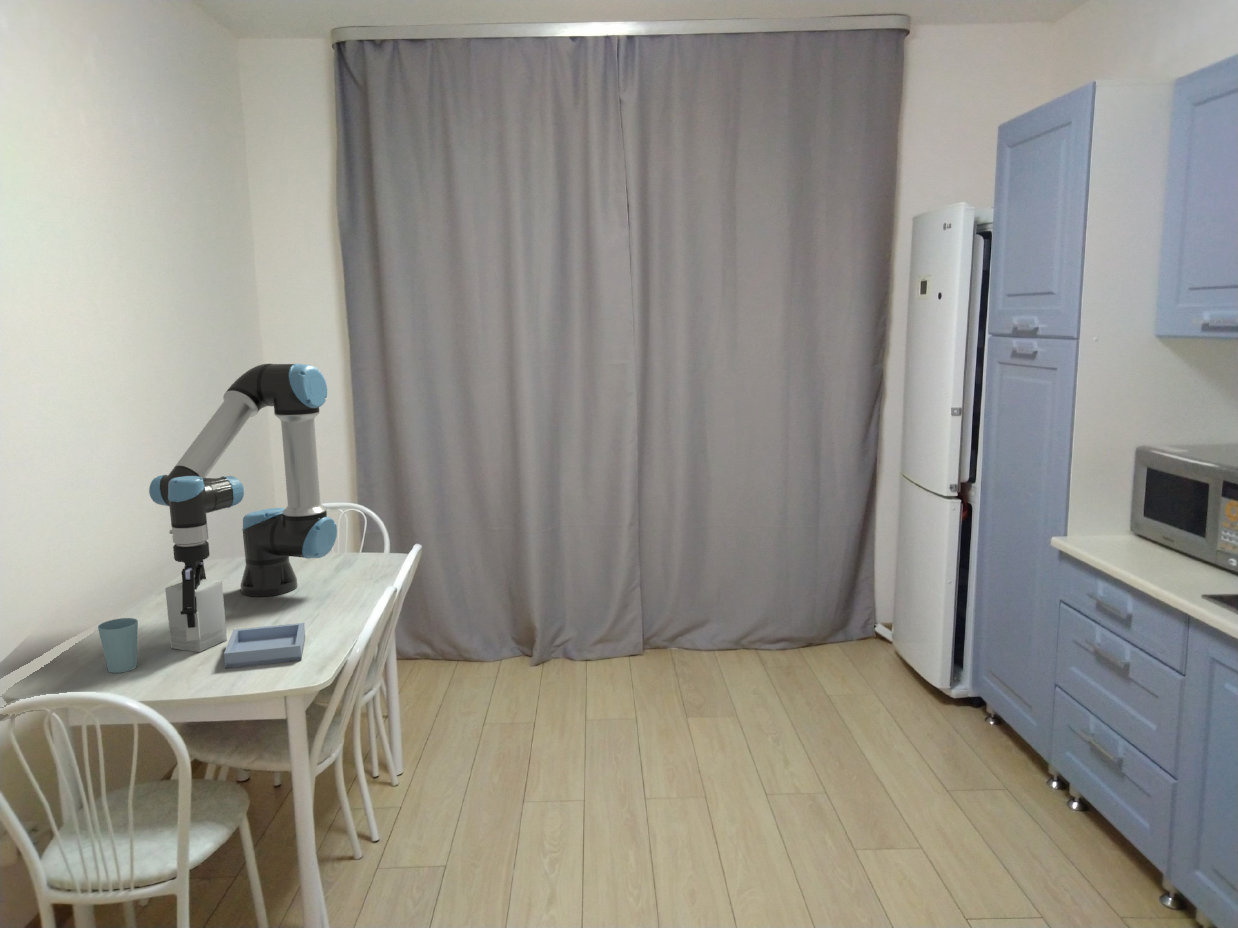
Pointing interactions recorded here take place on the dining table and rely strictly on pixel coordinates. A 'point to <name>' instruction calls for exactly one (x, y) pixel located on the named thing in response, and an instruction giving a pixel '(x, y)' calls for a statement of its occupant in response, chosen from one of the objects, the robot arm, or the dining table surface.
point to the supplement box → (208, 614)
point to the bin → (265, 645)
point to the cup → (119, 644)
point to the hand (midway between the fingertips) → (198, 630)
